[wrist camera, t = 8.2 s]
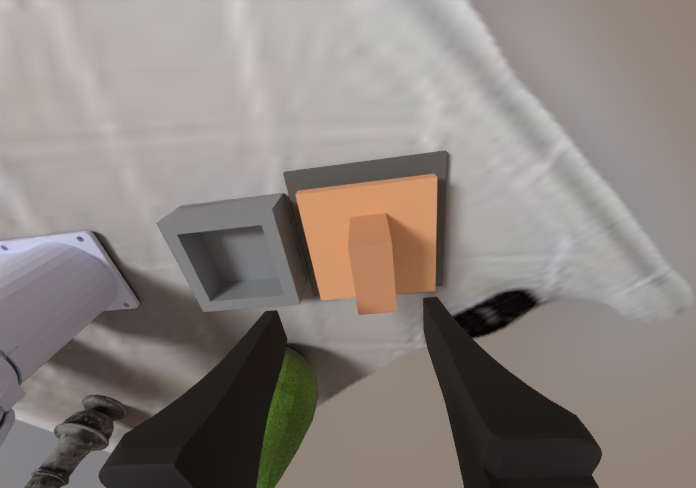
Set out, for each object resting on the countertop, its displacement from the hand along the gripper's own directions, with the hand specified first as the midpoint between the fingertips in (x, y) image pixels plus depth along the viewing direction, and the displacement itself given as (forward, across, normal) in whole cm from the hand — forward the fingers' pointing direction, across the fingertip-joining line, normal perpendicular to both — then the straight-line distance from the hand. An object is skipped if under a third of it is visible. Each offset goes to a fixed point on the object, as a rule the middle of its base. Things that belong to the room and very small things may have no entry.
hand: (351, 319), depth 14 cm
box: (+9, +9, 0) cm, 13 cm away
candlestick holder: (+10, +35, +21) cm, 42 cm away
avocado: (+10, +9, +14) cm, 19 cm away
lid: (+8, -1, 0) cm, 8 cm away
